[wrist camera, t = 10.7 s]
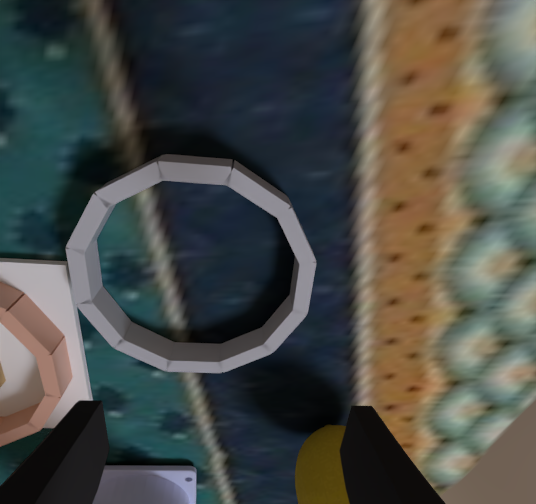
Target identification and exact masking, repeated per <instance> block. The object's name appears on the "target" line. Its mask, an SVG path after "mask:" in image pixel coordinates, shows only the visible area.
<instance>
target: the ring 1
mask: <svg viewBox="0 0 536 504" xmlns="http://www.w3.org/2000/svg"><path fill="white" fill-rule="evenodd" d="M23 293H24V292H22V291H20V290H18V289H15V288H13V287H11V286H9V285H7V284H4V283H2V282H0V323H1V324H3V325H4V326H5V327H6V328H7V329H8V330H9V331H10V332H11V333H12V334H13V335H14V336H15V337H16V338H17V339H18V340H19V341H20V342H21V343H22V344H23V345H24V346H25V347H26V348H27V349H28V350H29V351H30V352H31V353H32V354H33V355H34V356H35V357H36V360H37V364H38V368H39V372H40V376H41V380H42V384H43V388H44V392H45V396H44V398H43V399H42V401H41V402H40V403H38V404H35V405H33V406H30V407H28V408H26V409H23V410H21V411H18V412H16V413H13V414H11V415H9V416H6V417H2V416H0V447H1V446H3V445H6V444H8V443H11V442H13V441H16V440H18V439H21V438H23V437H26V436H28V435H31V434H33V433H36V432H38V431H40V430H41V429H42V428H43V426H44V424H45V423H46V421H47V420H48V418H49V417H50V415H51V413H52V412H53V410H54V409H55V407H56V405H57V404H58V402H59V401H60V399H61V397H62V396H63V394H64V392H65V390H66V389H67V387H68V385H69V383H70V382H71V380H72V377H73V375H72V370H71V365H70V359H69V354H68V349H67V344H66V339H65V336H64V334H63V333H62V332H61V331H60V330H59V329H58V328H57V327H56V326H55V324H54V323H53V322H52V321H51V320H50V319H49V318H48V317H47V316H46V315H45V314H44V313H43V312H42V311H41V309H40V308H39V307H38V306H37V305H36V304H35V303H34V302H33V301H32V300H31V299H30V298H29V297H28V296H27V294H24V295H23Z"/></svg>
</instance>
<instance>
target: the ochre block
mask: <svg viewBox="0 0 536 504" xmlns="http://www.w3.org/2000/svg"><path fill="white" fill-rule="evenodd" d="M5 381H6V379H5V376H4V372H3V369H2V366H1V362H0V388H1V386H2V385H3V384H4V382H5Z"/></svg>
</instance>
